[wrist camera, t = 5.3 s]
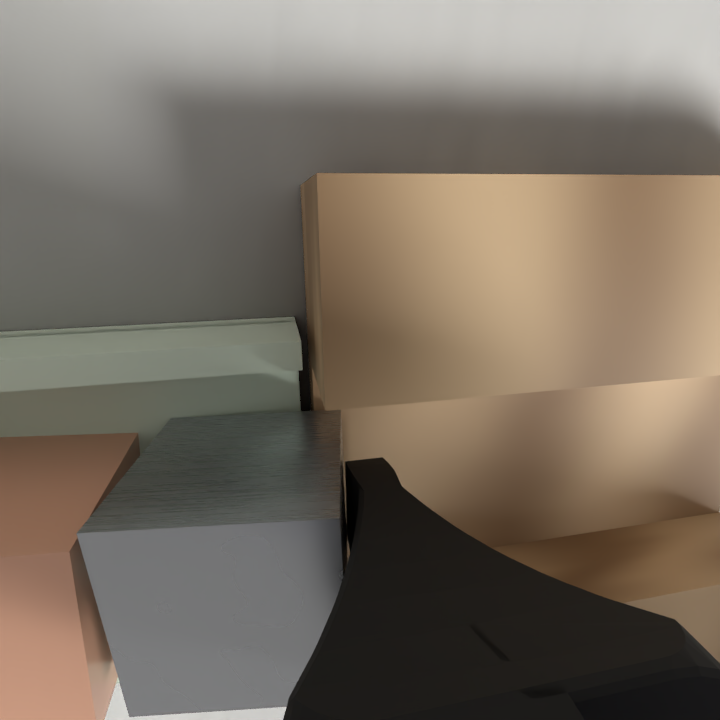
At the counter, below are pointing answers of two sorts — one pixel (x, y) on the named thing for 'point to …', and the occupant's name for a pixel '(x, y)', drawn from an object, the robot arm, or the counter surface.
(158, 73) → the counter surface
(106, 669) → the terracotta block
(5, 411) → the sage tray
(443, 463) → the oak channel board
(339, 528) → the grey steel block
